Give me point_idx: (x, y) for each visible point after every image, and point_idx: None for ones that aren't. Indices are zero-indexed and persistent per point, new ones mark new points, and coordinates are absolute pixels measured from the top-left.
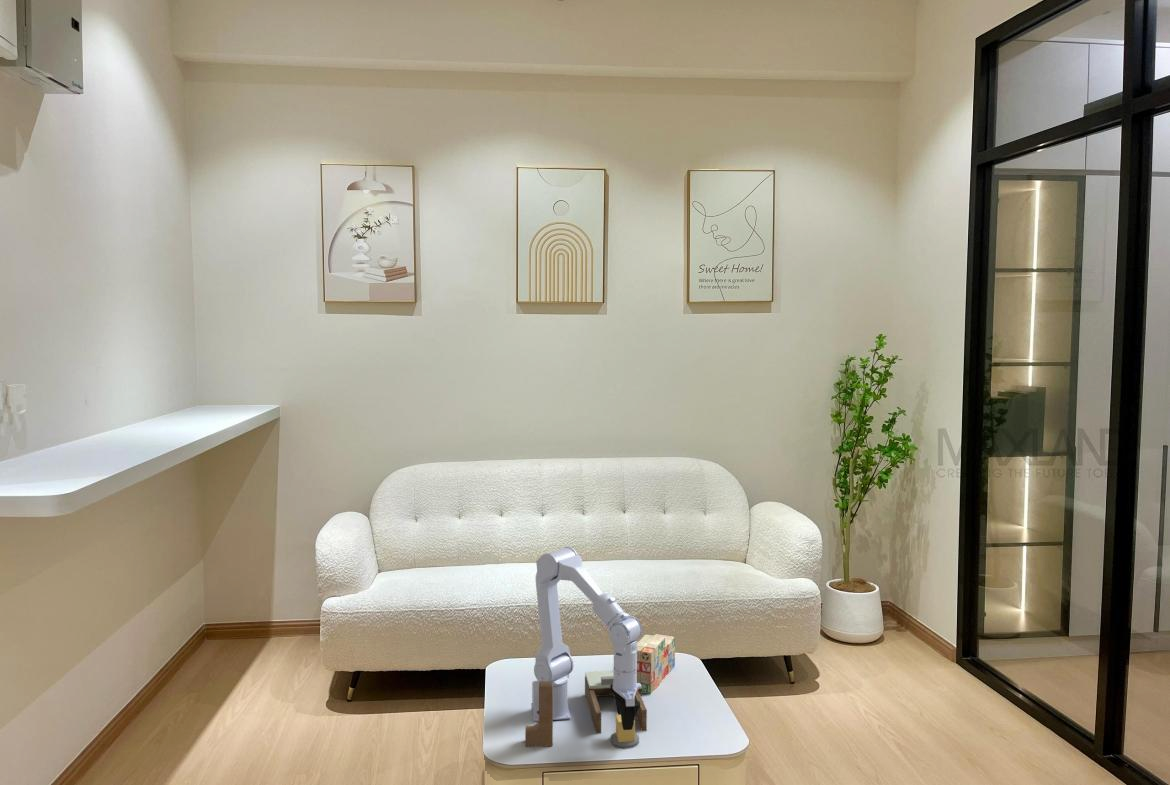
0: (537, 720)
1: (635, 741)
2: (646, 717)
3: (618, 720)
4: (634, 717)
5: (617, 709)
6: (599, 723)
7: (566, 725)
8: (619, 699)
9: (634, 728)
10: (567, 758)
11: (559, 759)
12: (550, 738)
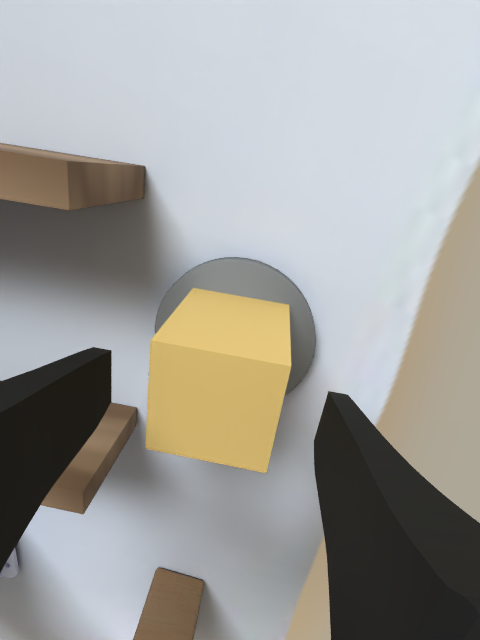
0: (17, 568)
1: (293, 302)
2: (102, 164)
3: (237, 465)
4: (412, 470)
5: (87, 433)
6: (115, 449)
7: None
8: (28, 486)
9: (289, 341)
10: (304, 569)
11: (300, 588)
12: (196, 619)
